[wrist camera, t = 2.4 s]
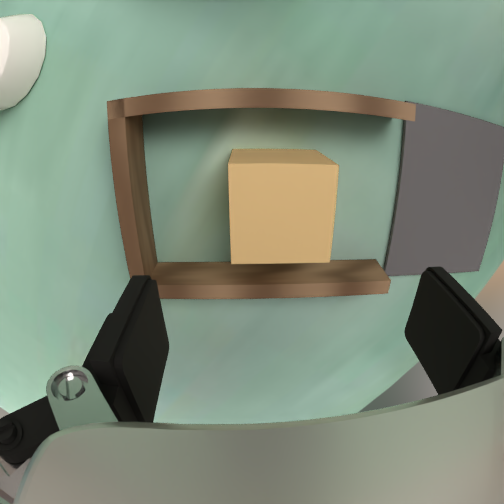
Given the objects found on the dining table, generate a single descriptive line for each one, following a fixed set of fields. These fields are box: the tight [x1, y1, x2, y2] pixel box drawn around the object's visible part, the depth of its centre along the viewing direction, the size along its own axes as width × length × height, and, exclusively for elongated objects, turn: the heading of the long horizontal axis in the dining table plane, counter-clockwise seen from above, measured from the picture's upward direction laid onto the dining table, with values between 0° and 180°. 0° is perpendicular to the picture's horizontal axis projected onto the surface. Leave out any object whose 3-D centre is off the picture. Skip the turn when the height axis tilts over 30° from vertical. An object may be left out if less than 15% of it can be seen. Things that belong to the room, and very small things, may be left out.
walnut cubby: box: [107, 88, 416, 299], centre depth 21 cm, size 20×14×4 cm
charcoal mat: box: [383, 101, 504, 276], centre depth 23 cm, size 12×15×1 cm
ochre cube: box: [228, 149, 339, 264], centre depth 20 cm, size 6×6×6 cm
